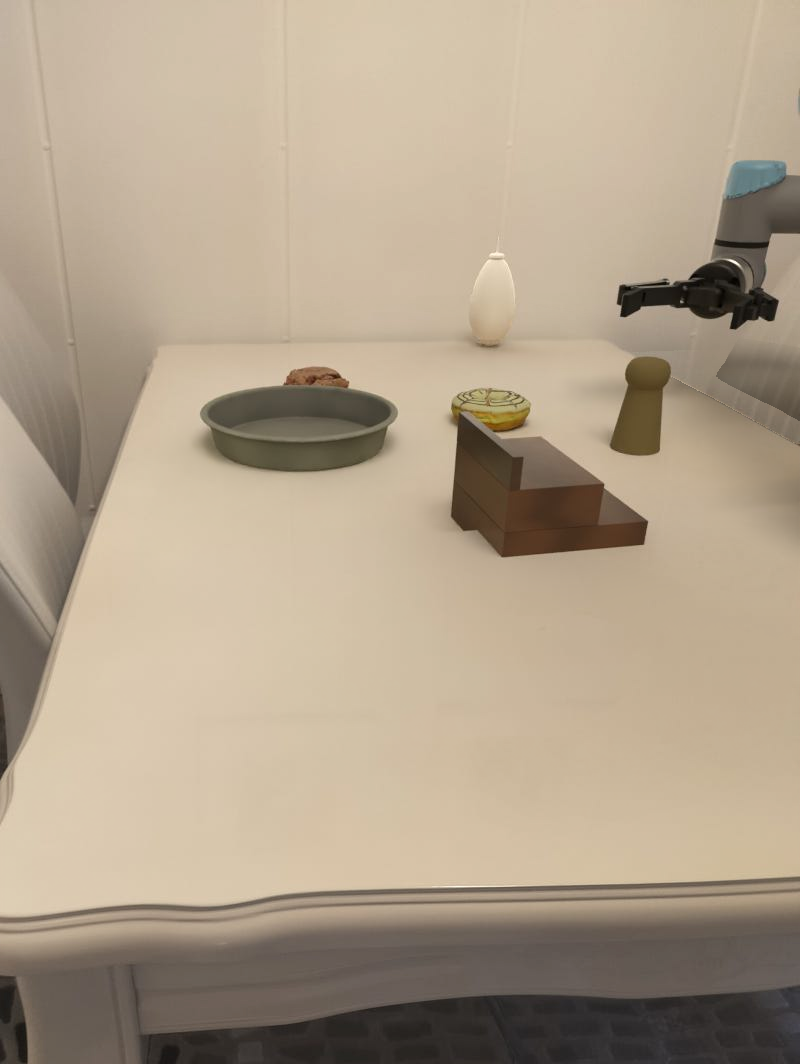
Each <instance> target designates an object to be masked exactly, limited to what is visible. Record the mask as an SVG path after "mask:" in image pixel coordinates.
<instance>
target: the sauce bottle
mask: <svg viewBox="0 0 800 1064" xmlns="http://www.w3.org/2000/svg"><path fill="white" fill-rule="evenodd" d="M488 258H489V259H488V260H487V261H486V262H485V263H484V264H483V266H482V268H481V269H480V271H479V273H478V275H477V277H476V279H475V282H474V285H473V288H472V292H471V295H470V301H469V311H468V316H469V317H468V318H469V319H468V320H469V326H470V328H471V332H472V334H473V337H475V338H476V339H478V342H479V343H481V344H483V346H484V347H494V346H495V345H497V344H499V343H500V341H501V340H503V339H505V338H506V336H507V335H508V334H509V332H510V329H511V328H512V325H513V322H514V318H515V313H516V303H517V301H516V299H517V298H516V287H515V282H514V278H513V275H512V271H511V269H510V267H509V265H508V263H507V261H506V260H505V258H506V255H505V254H504V253H502V252H500V237H499V236H498V237H497V241H496V246H495V252H492V253H490V254H489V255H488Z"/></svg>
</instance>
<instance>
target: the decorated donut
mask: <svg viewBox="0 0 800 1064" xmlns="http://www.w3.org/2000/svg"><path fill="white" fill-rule="evenodd" d="M531 406H532V403H531V402H530V401H529V400H528V399H527V398H526V397H525V396H523V395H521V394H519V393H518V392H515V391H511V390H504V389H499V388H493V387H480V388H474V389H470V390H467V391H462V392H459V393H457V395H455V396H453V397H452V400H451V406H450V410H451V412H452V415H453V418H454V420H455V421H457V422H458V418H459V412H470V413H471V414H472V415H473V416H474V417H476V418H477V419H478V420H479V421H481V422H482V423H483V424H484V425H485V426H487V427H488V428H489V429H490V430H492V431H493V432H494V431H499V432H500V431H510V430H512V429H513V428H514V429H515V428H517V427H519V426H521V425H522V424H523V423H524V422H525V421H526V419H527V418H528V416H529V415H530V412H531Z"/></svg>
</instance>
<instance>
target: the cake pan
mask: <svg viewBox="0 0 800 1064" xmlns="http://www.w3.org/2000/svg"><path fill="white" fill-rule="evenodd" d="M398 414H399V411H398V408H397V406H396V404H394V403H393V402H392V401H390V400H389V399H387V398H385V397H383V396H380V395H378V394H375V393H371V392H369V391H365V390H361V389H355V388H349V387H348V388H343V387H334V386H320V385H283V384H282V385H271V386H262V387H261V386H260V387H253V388H246V389H242V390H237V391H233V392H229V393H226V394H223V395H220V396H218V397H215V398H213V399H211V400H210V401H208V402H207V403H205V404H204V405H203V406H202V407H201V409H200V412H199V416H200V417H199V418H200V419H201V420H202V422H203V423H204V424H205V425H206V426H208V427H209V428H210V432H211V434H212V435H211V436H212V438H213V441H214V444H215V448H216V450H217V451H218V452H219V453H220V454H221V455H222V456H224V457H225V458H227V459H229V460H231V461H233V462H236V463H239V464H243V465H246V466H249V467H256V468H261V469H268V470H277V471H278V470H279V471H320V470H331V469H337V468H342V467H348V466H351V465H355V464H358V463H361V462H364V461H366V460H368V459H371V458H373V457H374V456H376V455H377V454H378V453H380V451H381V450H382V448H383V446H384V444H385V438H386V435H387V431H388V428H389V426H390V425H392V424H393V423H394V422H395V421H396V419H397V418H398Z"/></svg>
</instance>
